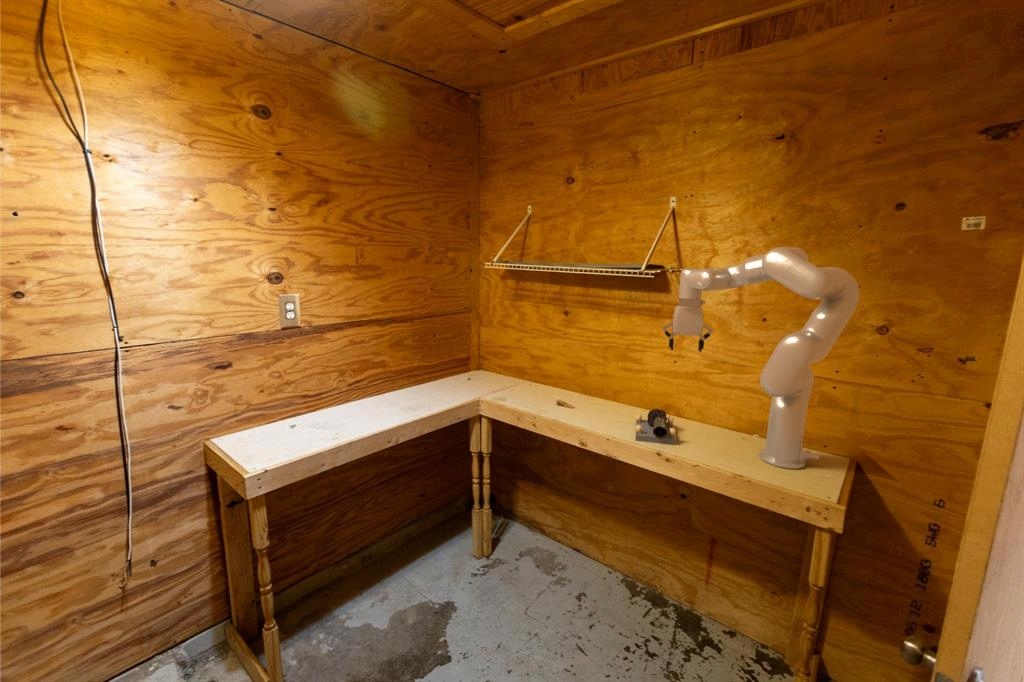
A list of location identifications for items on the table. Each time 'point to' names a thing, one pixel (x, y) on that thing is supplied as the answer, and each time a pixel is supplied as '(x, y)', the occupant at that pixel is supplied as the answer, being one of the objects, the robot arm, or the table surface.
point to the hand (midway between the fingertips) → (685, 350)
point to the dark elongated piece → (658, 422)
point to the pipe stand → (646, 432)
